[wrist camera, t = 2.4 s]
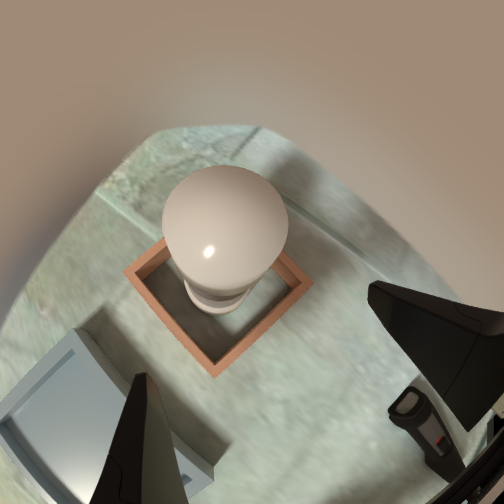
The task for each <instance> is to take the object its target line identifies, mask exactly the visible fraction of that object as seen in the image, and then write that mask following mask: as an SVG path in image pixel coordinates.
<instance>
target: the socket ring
mask: <svg viewBox="0 0 504 504" xmlns="http://www.w3.org/2000/svg"><path fill="white" fill-rule="evenodd" d="M170 257H171V253H170V251H169V249H168V246H167V244H166V241H165V238H164V237H163V238H162V239H161V240H160V241H158V242H157V243H156V244H155V245H154V246H152V247H151V248H150V249H149V250H148V251H146V252H145V253H144V254H143V255H142V256H140V257H139V258H138V259H137V260H136V261H135V262H133V263H132V264H131V265H130V266H129V267H128V268H126V269H125V270H124V271H123V273H124V274H125V276H126V277H127V278H128V280H129V281H130V282H131V283H132V285H133V286H134V287H135V289H136V290H137V291H138V292H139V294H140V295H141V296H142V298H143V299H144V300H145V301H146V302H147V304H148V305H149V306H150V307H151V309H152V310H153V311H154V312H155V313H156V315H157V316H158V317H159V318H160V319H161V321H162V322H163V323H164V324H165V325H166V327H167V328H168V329H169V330H170V331H171V332H172V333H173V335H174V336H175V337H176V338H177V339H178V340H179V341H180V342H181V344H182V345H183V346H184V347H185V348H186V349H187V350H188V351H189V352H190V354H191V355H192V356H193V357H194V358H195V359H196V360H197V361H198V362H199V363H200V364H201V365H202V366H203V367H204V368H205V369H206V370H207V372H208V373H209V374H210V375H211V376H212V377H213V378H214V379H215V378H216V377H217V376H218V375H219V374H220V373H221V372H222V371H224V370H225V369H226V368H227V367H228V366H229V365H230V364H231V363H232V362H234V361H235V360H236V359H237V358H238V357H239V356H240V355H241V354H242V353H243V352H244V351H245V350H247V349H248V348H249V347H250V346H251V345H252V344H253V343H254V342H255V341H256V340H257V339H258V338H259V337H260V336H261V335H262V334H263V333H264V332H265V331H267V330H268V329H269V328H270V327H271V326H272V325H273V324H274V323H275V322H276V321H277V320H278V319H279V318H280V317H281V316H282V315H283V314H284V313H285V312H286V311H287V310H288V309H289V308H290V307H291V306H292V305H293V304H294V303H295V302H296V301H297V300H298V299H299V298H300V297H301V296H302V295H303V294H304V293H305V292H306V291H307V290H308V289H309V288H310V287H311V286H312V284H313V281H312V280H311V279H310V278H309V277H308V276H307V275H306V274H305V273H304V272H303V271H302V270H301V269H300V268H299V267H298V266H297V265H296V264H295V263H294V262H293V261H292V260H291V258H290V257H289V256H288V255H287V254H286V253H285V252H284V251H283V250H282V251H281V253H280V254H279V255H278V257H277V258H276V260H275V261H274V262H273V264H272V265H271V267H272V268H273V269H274V270H275V271H276V273H277V274H278V275H279V276H280V277H281V278H282V279H283V280H284V281H285V282H286V283H287V284H288V285H289V286H290V287H291V288H292V290H291V291H290V292H289V293H288V294H287V295H286V296H285V297H284V298H283V299H282V300H281V301H280V302H279V303H278V304H277V305H276V306H275V307H274V308H273V309H272V310H271V311H270V312H269V313H268V314H267V315H266V316H265V317H264V318H263V319H261V320H260V321H259V322H258V323H257V324H256V325H255V326H254V327H253V328H252V329H251V330H250V331H249V332H248V333H247V334H246V335H244V336H243V337H242V338H241V339H240V340H239V341H238V342H237V343H236V344H235V345H234V346H233V347H231V348H230V349H229V350H228V351H227V352H226V353H225V354H224V355H223V356H222V357H220V358H219V359H218V360H217V361H216V362H215V363H214V362H213V361H212V360H211V359H210V358H209V357H208V356H207V355H206V354H205V352H204V351H203V350H202V349H201V348H200V347H199V346H198V345H197V344H196V343H195V342H194V341H193V339H192V338H191V337H190V336H189V335H188V334H187V333H186V332H185V331H184V329H183V328H182V327H181V326H180V325H179V324H178V323H177V321H176V320H175V319H174V318H173V317H172V316H171V315H170V313H169V312H168V311H167V310H166V309H165V307H164V306H163V305H162V304H161V303H160V302H159V300H158V299H157V298H156V297H155V295H154V294H153V293H152V292H151V291H150V289H149V288H148V287H147V286H146V284H145V283H144V282H143V280H144V279H145V278H146V277H147V276H148V275H150V274H151V273H152V272H153V271H154V270H155V269H157V268H158V267H159V266H160V265H161V264H163V263H164V262H165V261H166V260H167V259H168V258H170Z"/></svg>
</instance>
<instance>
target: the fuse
mask: <svg viewBox="0 0 504 504" xmlns="http://www.w3.org/2000/svg"><path fill="white" fill-rule="evenodd" d="M162 228H163V234H164V238H165V241H166V244H167V246H168V249H169V251H170V253H171V256H172V258H173V260H174V263H175V265H176V267H177V269H178V271H179V273H180V274H181V276H182V277H183V278H184V283H185V287H186V290H187V292H188V294H189V297H190V299H191V301H192V302H193V304H194V305H195V306H196V307H197V308H198V309H199V310H201V311H202V312H204V313H207V314H210V315H215V316H220V315H226V314H229V313H231V312H233V311H234V310H236V309H237V308H238V307H239V306H240V305H241V304H242V303H243V301H244V300H245V299H246V297H247V296H248V294H249V292H250V290H251V287H252V286H254V285H255V284H256V283H257V282H258V281H259V280H260V279H261V278H262V277H263V275H264V274H265V273H266V271H267V270H268V269H269V267H270V266H271V265H272V264H273V262H274V261H275V260H276V258H277V257H278V255H279V254H280V253H281V251H282V249H283V247H284V245H285V242H286V239H287V234H288V215H287V211H286V207H285V205H284V202H283V200H282V198H281V196H280V195H279V193H278V192H277V190H276V189H275V188H274V187H273V186H272V185H271V184H270V183H269V182H268V181H267V180H266V179H264V178H263V177H261V176H260V175H258V174H256V173H254V172H252V171H250V170H247V169H245V168H241V167H236V166H226V165H221V166H212V167H207V168H204V169H201V170H198V171H196V172H194V173H192V174H191V175H189V176H187V177H186V178H185V179H183V180H182V181H181V182H180V183H179V184H178V185H177V186H176V187H175V188H174V190H173V191H172V192H171V194H170V196H169V197H168V199H167V202H166V204H165V207H164V211H163V217H162Z"/></svg>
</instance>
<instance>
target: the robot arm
mask: <svg viewBox="0 0 504 504" xmlns="http://www.w3.org/2000/svg"><path fill="white" fill-rule="evenodd" d="M367 300H368V304H369V305H370V307H371V308H372V310H373V311H374V313H375V314H376V316H377V317H378V318H379V320H380V321H381V323H382V324H383V326H384V327H385V329H386V330H387V331H388V333H389V334H390V335H391V336H392V337H393V339H394V340H395V341H396V342H397V343H398V345H399V346H400V347H401V348H402V349H403V351H404V352H405V353H406V354H407V355H408V357H409V358H410V359H411V360H412V362H413V363H414V364H415V365H416V366H417V368H418V369H419V370H420V371H421V373H422V374H423V375H424V376H425V378H426V379H427V380H428V381H429V383H430V384H431V385H432V386H433V388H434V389H435V390H436V392H437V393H438V394H439V395H440V397H441V398H442V399H443V401H444V402H445V403H446V405H447V406H448V407H449V409H450V410H451V411H452V412H453V414H454V415H455V416H456V418H457V419H458V420H459V422H460V423H461V424H462V426H463V427H464V429H465V430H466V431H467V432H469V431H470V430H471V429H472V428H473V427H474V426H475V425H476V424H477V423H478V422H479V421H480V420H481V419H482V418H483V416H484V415H485V414H486V413H487V412H488V411H489V410H490V409H492V410H493V411H494V412H495V413H496V414H495V415H494V416H493V417H492V418H491V419H490V421H489V422H488V423H487V446H486V447H485V448H484V449H483V450H482V452H481V453H480V454H479V455H478V456H477V457H476V458H475V459H474V460H473V461H472V462H471V463H470V464H469V465H468V466H467V467H466V468H465V469H464V470H463V471H462V472H461V473H460V474H459V475H458V476H457V477H456V478H455V479H454V480H453V481H452V482H451V483H449V484H448V485H447V486H446V487H445V488H444V489H443V490H441V491H440V492H439V493H438V494H437V495H436V496H434V497H433V498H432V499H431V500H429V501H428V502H427V503H426V504H461V503H462V502H463V501H465V500H467V501H468V503H467V504H504V312H498V311H493V310H488V309H482V308H478V307H473V306H469V305H465V304H461V303H457V302H454V301H453V302H452V301H450V300H447V299H443V298H440V297H436V296H433V295H429V294H426V293H422V292H419V291H415V290H411V289H408V288H404V287H401V286H397V285H394V284H390V283H386V282H383V281H379V280H377V281H375V282H372V283H371V284H370V285H369V288H368V298H367ZM108 453H109V454H108V455H107V458H106V461H105V464H104V467H103V470H102V473H101V476H100V478H99V481H98V483H97V486H96V488H95V490H94V493H93V495H92V497H91V500H90V502H89V504H189V503H188V499H187V496H186V492H185V489H184V485H183V482H182V478H181V474H180V470H179V466H178V462H177V458H176V454H175V450H174V446H173V441H172V436H171V432H170V427H169V424H168V421H167V417H166V414H165V411H164V408H163V405H162V402H161V398H160V395H159V392H158V389H157V386H156V384H155V383H154V381H153V380H152V379H151V377H150V376H149V374H148V373H147V372H142V373H139V374H136V375H135V377H134V380H133V382H132V385H131V388H130V391H129V393H128V396H127V399H126V402H125V404H124V407H123V410H122V413H121V416H120V419H119V421H118V424H117V427H116V430H115V433H114V436H113V439H112V442H111V445H110V449H109V452H108Z"/></svg>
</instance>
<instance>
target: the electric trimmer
mask: <svg viewBox="0 0 504 504" xmlns="http://www.w3.org/2000/svg"><path fill="white" fill-rule="evenodd" d="M388 413H389V414H390V415H389V419H390V420H391V421H392V422H393V423H394V424H395V425H396V426H398V427H400V428H402V429H404V430H406V431H407V432H408V433H409V434H410V435H411V436H412V437H413V438H414V440H415V441H416V442H417V443H418V444H419V446H420V447H421V448H422V450H423V451H424V453H425V455H426V459H425V463H426V464H427V465H428V466H429V467H430V468H431V469H432V470H433V471H435V472H436V473H437V474H438V475H439V476H441V477H442V478H443V479H444V480H446V481H447V482H448V483H451V482H452V481H453V480H454V479H455V478H456V477H457V476H458V475H459V474H460V473H461V472H462V471H463V470H464V469H465V468H466V467H465V465H464V463H463V461H462V459H461V457H460V455H459V453H458V451H457V449H456V447H455V445H454V443H453V441H452V439H451V437H450V434H449V432H448V431H447V429H446V427H445V425H444V423H443V421H442V420H441V418H440V416H439V414H438V412H437V411H436V409H435V407H434V406H433V405H432V403H431V402H430V400H429V399H428V397H427V396H426V395H425V394H424V393H422V392H421V391H419V390H418V389H417V388H415V387H412V386H410V387H407V388H406V389H405V390H404V391H403V393H402V394H401V395H400V396H399V397H398V398H397V400H396V401H395V402H394V403H393V404H392V405H391V406H390V408H389V409H388Z"/></svg>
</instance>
